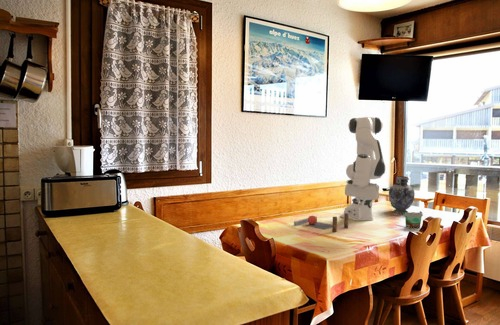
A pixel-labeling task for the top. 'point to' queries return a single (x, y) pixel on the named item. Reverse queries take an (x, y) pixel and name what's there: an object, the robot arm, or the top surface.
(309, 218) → the ball
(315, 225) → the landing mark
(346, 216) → the post
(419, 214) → the food container
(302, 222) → the stopper wall
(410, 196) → the decorative vase
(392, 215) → the top surface
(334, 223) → the post
